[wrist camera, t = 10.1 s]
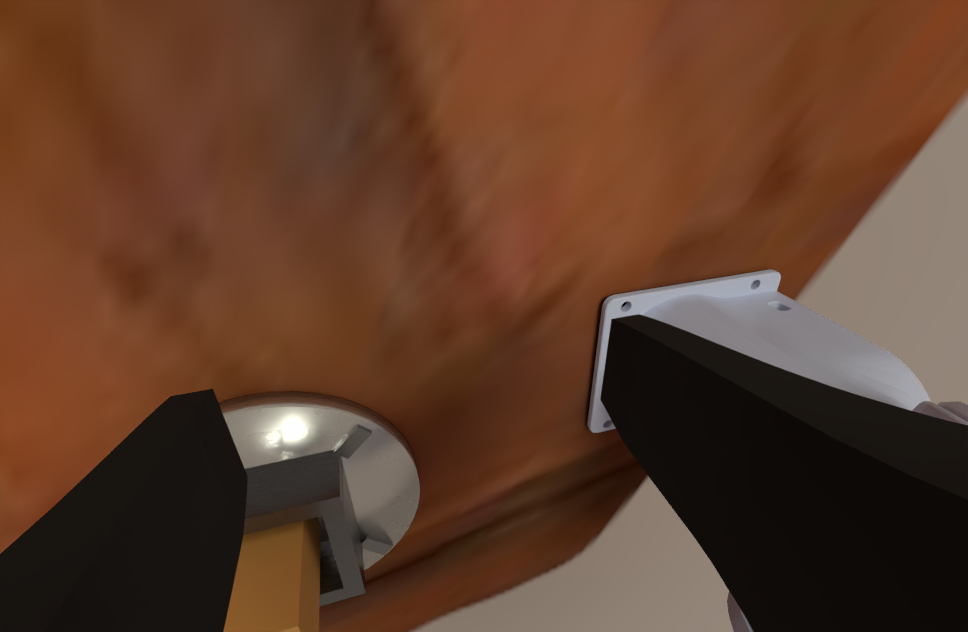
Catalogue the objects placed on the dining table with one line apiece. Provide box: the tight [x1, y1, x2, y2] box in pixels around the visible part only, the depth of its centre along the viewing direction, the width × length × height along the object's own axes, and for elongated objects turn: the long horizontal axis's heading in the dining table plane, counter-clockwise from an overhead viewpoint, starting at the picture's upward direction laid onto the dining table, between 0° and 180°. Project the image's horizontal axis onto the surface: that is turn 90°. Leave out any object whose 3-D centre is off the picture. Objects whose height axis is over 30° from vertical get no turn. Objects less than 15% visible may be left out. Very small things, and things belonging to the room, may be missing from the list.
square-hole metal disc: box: [219, 391, 420, 606], centre depth 20 cm, size 12×12×4 cm
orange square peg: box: [223, 517, 321, 632], centre depth 18 cm, size 3×3×6 cm
